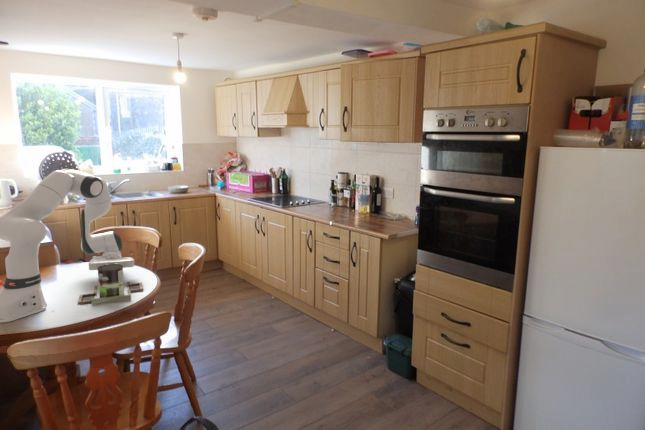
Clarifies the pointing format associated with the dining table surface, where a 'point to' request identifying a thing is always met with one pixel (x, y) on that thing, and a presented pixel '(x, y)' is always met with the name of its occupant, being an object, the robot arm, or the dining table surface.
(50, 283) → the dining table surface
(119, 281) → the coffee can
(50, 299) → the dining table surface
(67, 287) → the dining table surface
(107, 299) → the lane
